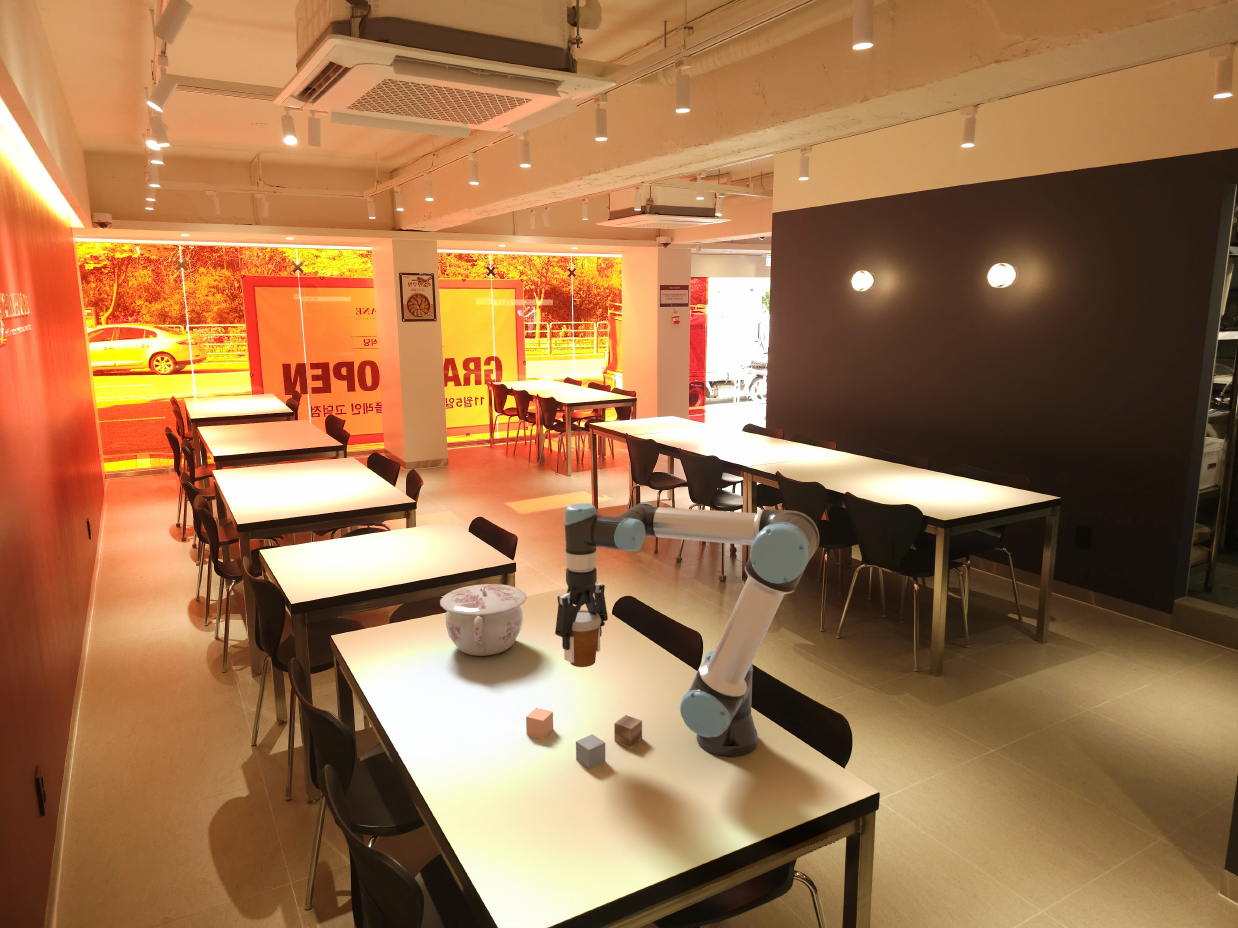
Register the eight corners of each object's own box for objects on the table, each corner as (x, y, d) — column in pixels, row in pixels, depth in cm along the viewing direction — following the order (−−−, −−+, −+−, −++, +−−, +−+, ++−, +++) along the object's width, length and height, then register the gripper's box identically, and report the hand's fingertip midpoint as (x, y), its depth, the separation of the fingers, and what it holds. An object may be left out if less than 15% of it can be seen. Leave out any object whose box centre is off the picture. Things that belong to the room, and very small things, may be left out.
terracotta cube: (553, 729, 200) (552, 711, 199) (543, 738, 196) (543, 720, 195) (536, 725, 202) (536, 707, 201) (526, 734, 198) (526, 716, 197)
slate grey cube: (605, 761, 186) (605, 742, 185) (589, 769, 182) (588, 749, 181) (592, 752, 189) (592, 733, 188) (576, 760, 186) (575, 741, 185)
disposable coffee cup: (596, 671, 187) (596, 624, 185) (558, 668, 189) (558, 622, 187) (605, 655, 196) (605, 610, 194) (569, 652, 198) (568, 607, 196)
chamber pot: (486, 624, 269) (483, 567, 265) (545, 642, 253) (544, 582, 250) (422, 652, 247) (419, 590, 243) (483, 674, 231) (481, 608, 227)
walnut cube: (642, 738, 195) (642, 720, 195) (630, 747, 191) (630, 728, 191) (625, 732, 198) (625, 714, 197) (614, 741, 194) (614, 723, 193)
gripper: (601, 554, 198) (602, 638, 202) (537, 574, 183) (540, 663, 187) (622, 561, 193) (622, 646, 197) (558, 581, 178) (560, 673, 182)
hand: (582, 655), depth 192 cm, fingers closed on disposable coffee cup, 8 cm apart
